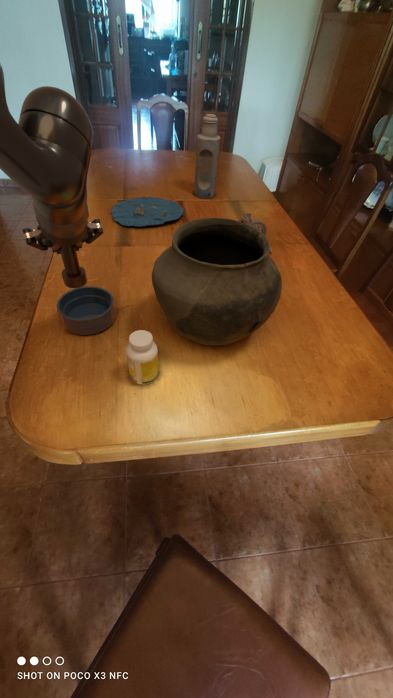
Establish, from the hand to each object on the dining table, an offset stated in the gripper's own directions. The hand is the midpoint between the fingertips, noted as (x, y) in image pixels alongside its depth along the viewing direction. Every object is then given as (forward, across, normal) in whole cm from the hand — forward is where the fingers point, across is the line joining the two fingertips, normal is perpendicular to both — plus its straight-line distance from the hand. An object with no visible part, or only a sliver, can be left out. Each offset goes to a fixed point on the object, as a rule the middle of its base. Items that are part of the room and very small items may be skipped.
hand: (66, 247), depth 65 cm
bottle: (+65, -68, -34) cm, 100 cm away
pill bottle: (+1, -8, +30) cm, 31 cm away
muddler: (+3, 0, +6) cm, 7 cm away
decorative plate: (+56, -36, -25) cm, 72 cm away
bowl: (+17, -1, +14) cm, 22 cm away
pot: (+7, -30, +24) cm, 40 cm away
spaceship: (+33, -66, -1) cm, 74 cm away
